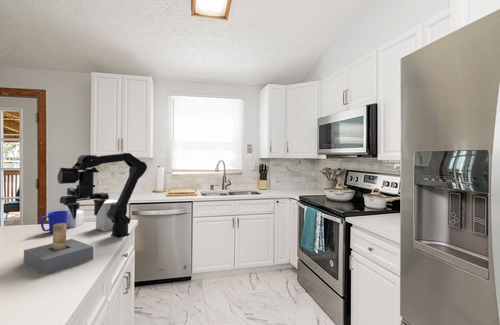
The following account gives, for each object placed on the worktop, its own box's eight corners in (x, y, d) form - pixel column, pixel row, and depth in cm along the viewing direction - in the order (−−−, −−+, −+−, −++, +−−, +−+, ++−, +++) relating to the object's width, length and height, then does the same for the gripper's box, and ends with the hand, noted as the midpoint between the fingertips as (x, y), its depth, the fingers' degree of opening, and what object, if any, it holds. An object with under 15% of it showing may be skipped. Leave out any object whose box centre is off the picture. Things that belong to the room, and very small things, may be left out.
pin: (56, 256, 100) (56, 223, 100) (68, 256, 101) (68, 222, 101) (50, 261, 96) (50, 225, 96) (62, 260, 97) (62, 225, 97)
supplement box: (104, 231, 138) (104, 203, 137) (95, 228, 142) (95, 201, 142) (120, 227, 145) (121, 201, 145) (111, 225, 150) (112, 199, 150)
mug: (35, 234, 129) (35, 214, 129) (61, 228, 141) (61, 210, 140) (46, 236, 126) (46, 216, 126) (71, 230, 138) (71, 211, 137)
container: (69, 223, 151) (69, 201, 151) (83, 223, 152) (83, 201, 151) (60, 227, 143) (61, 203, 143) (75, 227, 144) (75, 203, 144)
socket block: (71, 250, 110) (71, 238, 109) (93, 259, 102) (93, 246, 101) (23, 263, 96) (23, 250, 96) (44, 274, 88) (44, 259, 88)
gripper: (96, 180, 130) (95, 211, 131) (53, 182, 114) (52, 218, 114) (110, 181, 125) (109, 214, 125) (67, 184, 109) (66, 221, 109)
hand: (85, 217), depth 119 cm, fingers open, 9 cm apart
